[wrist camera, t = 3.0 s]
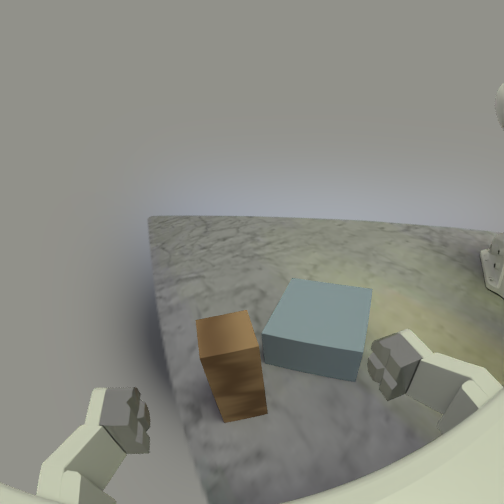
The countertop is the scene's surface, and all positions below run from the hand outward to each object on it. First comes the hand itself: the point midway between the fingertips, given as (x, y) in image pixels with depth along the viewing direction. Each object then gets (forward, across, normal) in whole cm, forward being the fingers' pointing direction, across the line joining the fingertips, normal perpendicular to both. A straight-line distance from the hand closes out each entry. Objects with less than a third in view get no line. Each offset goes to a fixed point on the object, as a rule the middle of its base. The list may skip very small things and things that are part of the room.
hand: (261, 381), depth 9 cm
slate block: (+22, -12, +20) cm, 32 cm away
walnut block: (+15, 0, +21) cm, 26 cm away
